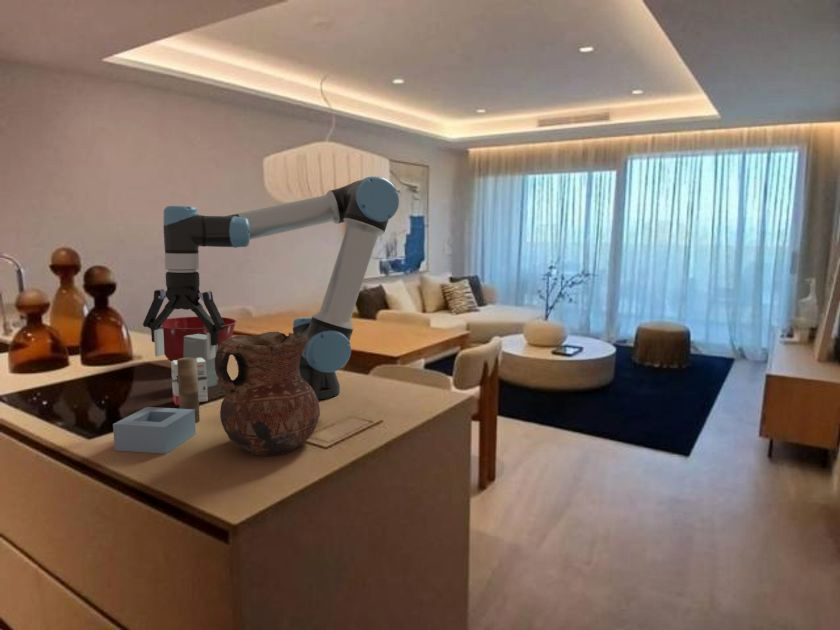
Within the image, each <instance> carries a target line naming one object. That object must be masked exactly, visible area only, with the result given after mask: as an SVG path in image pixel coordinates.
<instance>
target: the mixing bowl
mask: <svg viewBox="0 0 840 630" xmlns="http://www.w3.org/2000/svg"><path fill="white" fill-rule="evenodd" d="M221 317H222V319H223V321H224V323H225V325H226V328H225V329H222V330H220V331H219V332H218V347H219V345H220V344H221V343H222V342H223V341H224V340H226V339H228V338H230V337H233V333H234V329H235V326H236V323H237V320H236V319H234V318H231V317H230V318H229V317H223V316H221ZM210 318H211V316H210ZM159 329H163V333H164V356H165V358H167V360H168V361H170V362H171V361H174V360H178V359H180V358H183V352H184V336H187V335H194V334H203V335H207V333H208V332H210V331H209V330H208V329H207V327H206V326H205V325H204V324H203V323H202V321H201V320H200V319H199V318H198V316H182V317H172V318H169V317H168V318H167V319H166V320H165V322H164V323H163V324H162V325H161V328H159Z"/></svg>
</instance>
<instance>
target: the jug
mask: <svg viewBox="0 0 840 630" xmlns="http://www.w3.org/2000/svg"><path fill="white" fill-rule="evenodd" d="M307 341H308V337H307V336H305V335H295V334H293V333H291V332H288V335H287V334H285V333H282V332H280V331H267V332H262V333H260V334H257V335H244V334H240V335H239V334H238V335H232V337H230V338H228V339H226V340H224V341H223V342H222V343H221V344H220V345H219V347H218V349H217V352H216V356H215V371H216V375H217V381H218V382H219V383H220V384H221V386H222V389H223V390H224V391H225V396H224V398H223V400H222V402H221V404H220V410H219V417H220V421H221V425H222V427H223V430H224V432H225V434H226V435H227V436H228V438H229V440H230V441H231V442H232V443H233V444H234V445H235V446H236V447H237V448H238V449H239V450H240V451H242V452H243V453H246V454H248V455H255V456H262V457H270V456H271V455H272V456H279V454H280V455H284V454H287V453H289V452H292V451H294V450H295V449H297V448H299V447H300V446H302V445H304V443H305V442H307V441H308V440H309V439H310V437H311V436H312V435H313V433H314V432H315V429H316V428H317V425H318V422H319V419H320V416H321V415H320V414H321V413H320V412H321V408H320V403H319V402H320V401H319V400H318V399H317V396H316V394H315V392H314V390H313V389H312V387H311V386H310V385H309V384H308V383H307V382H306V381H305V380H304V379H303V378H302V377H301V375H300V370H299V364H300V357H301V354H302V351H303V349H304V347H305V345H306V343H307ZM231 355H232V356H233V357H234V360H235V362H236V363H237V370H238V372H237V376H236V377H235V378H234V379H232V378H231V376H230V375H229V373H228V372H229V371H228V364H229V360H230V356H231ZM283 453H284V454H283Z"/></svg>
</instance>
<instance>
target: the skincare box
mask: <svg viewBox="0 0 840 630" xmlns="http://www.w3.org/2000/svg"><path fill="white" fill-rule="evenodd" d="M217 349H218V344H217V345H215V353H216V352H217ZM187 357H193V358H203V359H204V360H205V361H206V372H207V389H209V388H211V387H215V386H217V385H218V377H217V375H216V371H215V358H212V359H207V335H203V334H194V335H187V336H184V352H183V358H187Z"/></svg>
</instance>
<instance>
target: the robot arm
mask: <svg viewBox="0 0 840 630" xmlns="http://www.w3.org/2000/svg"><path fill="white" fill-rule="evenodd" d="M399 205H400V197H399V192H398V190H397V188H396V187H395V186H394V184H393V183H392V182H391V181H389V180H388V179H386V178H384V177H382V176H381V177H380V176H368V177H365V178H362V179H359V180H356V181H353V182H351V183H349V184H347V185H344V186H341V187H338V188H335V189H331V190H328V191H327V192H326V194H323V195H320V196H316V197H310V198H305V199H301V200H300V199H299V200H296V201H291V202H286V203H281V204H278V205H277V204H276V205H273V206H267V207H262V208H258V209H253V210H249V211H244V212H243V211H242V212H238V213H235V214H234V213H233V214H229V215H223V216H222V215H201V214H199V212H198V209H197V207H195V206H185V205H168V206H166V207H165V208H163V226H162V227H163V241H164V242H163V244H164V268H165V270H167V271H166V273H165V286H166V290H164V289H155V290H154V292H153V300H152V302H151V304H150V307H149V309H148V311H147V313H146V316H145V318H144V320H143V322H142V325H143V327H144V328H149V329H150V331H151V332H150V334H151V342H152V343H154V357H160V356H163V355H164V356H165V354H164V333H163V329H159V328H161V325H162V324H163V323H164V322H165V320H166V319H169V317H170V315H171V314H172V313H173V312H174V311H175V310H184V311H185V310H186V311H189V310H191V312H193V313H194V314H195V316H196V317H198V318H199V319H200V320H201V321H202V323H203V324H204V325H205V326H206V327H207V329H208V330H209V331H210V332H208V333H207V359H212V358H215V356H216V353H215V345H217V344H218V332H219V331H220V330H222V329H225V328H226V325H225V323H224V321H223V319H222V317H223V316H222V314H221V313H220V311H219V309H218V307H217V305H216V303H215V301H214V295H213V292H212V291H204V292H200V272H199V271H197V270H199V269H200V265H199V263H200V262H199V261H200V260H199V259H200V258H199V257H200V256H199V247H210V248H211V247H214V248H215V247H217V248H235V249H237V248H246V247H248V246H249V244H250V241H251V240H254V239H260V238H263V237H268V236H273V235H277V234H282V233H285V232H286V233H287V232H290V231H295V230H299V229H304V228H309V227H312V226H317V225H321V224H327V223H331V222H333V223H334V224H336V225H338V224H341V223H343V224H345V225H346V229H345V233H344V235H343V239H342V242H341V245H340V247H339V251H338V254H337V257H336V260H335V263H334V267H333V268H332V269H333V270H332V272H331V276H330V279H329V283H328V284H327V288H326V291H325V294H324V297H323V301H322V303H321V307H320V309H319V311H318V312H317V313H314V314H312V316H311V317H310V316H309V317H297V318H295V319H293V324H292V331H293V333H292V334H295V335H305V336H307V337H308V341H307V343H306V345H305V347H304V349H303V351H302V354H301V357H300V364H299V370H300V375H301V377H302V378H303V379H304V380H305V381H306V382H307V383H308V384H309V385H310V386H311V387H312V389H313V390H314V392H315V394H316V396H317V399H318V401H319V400H327V399H331V398H334V397H336V396H338V395H339V394H340V393H341V386H340V382H339V378H338V376H337V373H336V372H337V371H339V370H340V369H342V368H343V367H345V365H346V364H347V363H348V362H349V360H350V357H351V354H352V346H351V342H350V340H351V338H352V334H353V332H354V326H353V324H352V321H351V320H352V316H353V312H354V310H355V307H356V304H357V301H358V298H359V295H360V292H361V288H362V285H363V281H364V279H365V276H366V272H367V270H368V267H369V263H370V260H371V257H372V254H373V251H374V248H375V245H376V242H377V240H378V237H380V236H382V235H383V234H385V232H386V229H387V226H388V223H389V220H390V219H392V218H393V217H394V216H395V215H396V213H397V212H398V209H399ZM166 298H167V300H168V301H167V303H166V304H165V305H164V308H163V309H162V310H161V307H162V305H163V303H164V300H165V299H166ZM199 300H201V301H202V302H203V304H204V306H205V309H206V310H205V309H204V307H203V305H202V304H201V302H200V301H199ZM160 310H161V312H160ZM159 312H160V313H159ZM207 312H208V313H207ZM210 317H211V318H210ZM337 394H338V395H337ZM333 396H334V397H333ZM330 397H331V398H330ZM326 398H327V399H326Z"/></svg>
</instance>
